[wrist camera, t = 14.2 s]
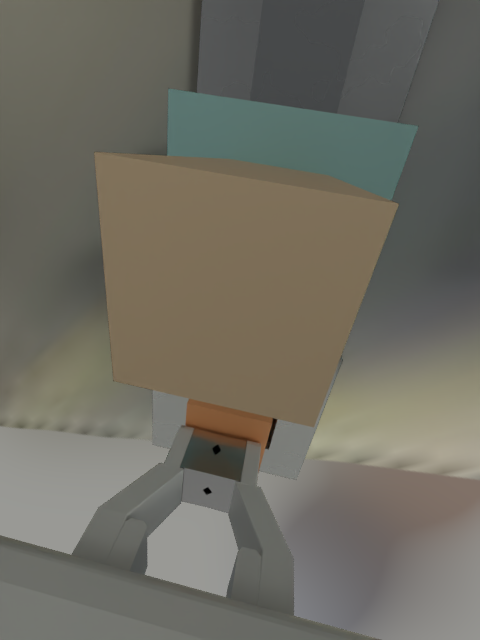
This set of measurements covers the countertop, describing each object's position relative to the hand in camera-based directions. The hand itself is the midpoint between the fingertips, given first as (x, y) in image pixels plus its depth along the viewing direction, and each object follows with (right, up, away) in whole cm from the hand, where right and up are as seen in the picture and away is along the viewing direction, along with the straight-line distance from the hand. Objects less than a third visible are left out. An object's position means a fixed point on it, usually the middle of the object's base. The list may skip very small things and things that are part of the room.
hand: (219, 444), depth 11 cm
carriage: (+2, +9, +1) cm, 10 cm away
